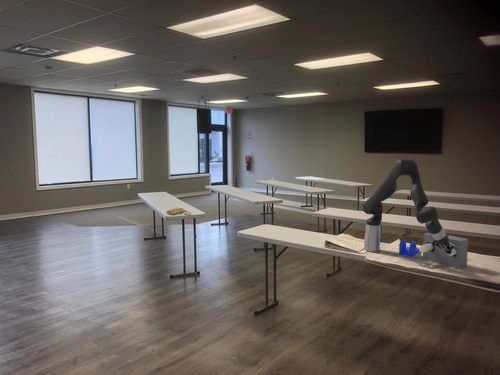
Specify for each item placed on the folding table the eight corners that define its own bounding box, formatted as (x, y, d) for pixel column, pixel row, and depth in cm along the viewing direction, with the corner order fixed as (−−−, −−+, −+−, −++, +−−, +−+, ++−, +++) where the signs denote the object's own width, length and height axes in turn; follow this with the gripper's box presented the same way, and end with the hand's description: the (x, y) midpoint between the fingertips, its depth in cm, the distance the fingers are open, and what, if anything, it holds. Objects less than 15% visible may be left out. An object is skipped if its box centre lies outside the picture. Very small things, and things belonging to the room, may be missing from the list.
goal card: (431, 268, 218) (431, 267, 218) (418, 265, 225) (418, 264, 225) (437, 267, 221) (437, 265, 221) (424, 263, 228) (424, 262, 228)
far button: (427, 252, 226) (427, 245, 225) (420, 251, 229) (420, 243, 229) (435, 250, 230) (436, 243, 230) (428, 249, 234) (429, 241, 233)
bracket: (412, 257, 241) (413, 243, 240) (398, 255, 246) (399, 241, 245) (421, 251, 255) (421, 237, 254) (408, 249, 260) (408, 236, 259)
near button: (453, 256, 217) (454, 249, 217) (446, 255, 221) (446, 247, 221) (461, 254, 222) (462, 247, 222) (454, 252, 226) (454, 245, 225)
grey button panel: (459, 269, 217) (460, 241, 216) (422, 259, 235) (423, 233, 234) (466, 266, 222) (468, 239, 220) (430, 257, 240) (431, 232, 238)
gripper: (453, 230, 206) (464, 250, 214) (429, 226, 217) (441, 244, 225) (447, 242, 204) (458, 260, 212) (423, 237, 215) (435, 255, 223)
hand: (449, 252), depth 219 cm, fingers closed
